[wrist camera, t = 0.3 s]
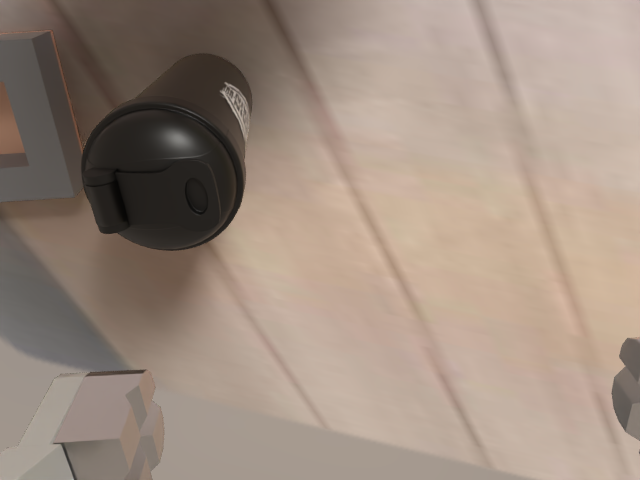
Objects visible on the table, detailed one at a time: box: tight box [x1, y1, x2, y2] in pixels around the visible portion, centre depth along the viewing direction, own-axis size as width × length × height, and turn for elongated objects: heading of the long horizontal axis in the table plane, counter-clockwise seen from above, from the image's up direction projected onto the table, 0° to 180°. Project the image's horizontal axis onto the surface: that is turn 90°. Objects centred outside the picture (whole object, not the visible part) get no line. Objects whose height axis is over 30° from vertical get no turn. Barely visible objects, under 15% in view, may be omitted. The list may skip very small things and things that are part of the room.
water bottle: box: [81, 54, 252, 251], centre depth 45 cm, size 10×10×23 cm
